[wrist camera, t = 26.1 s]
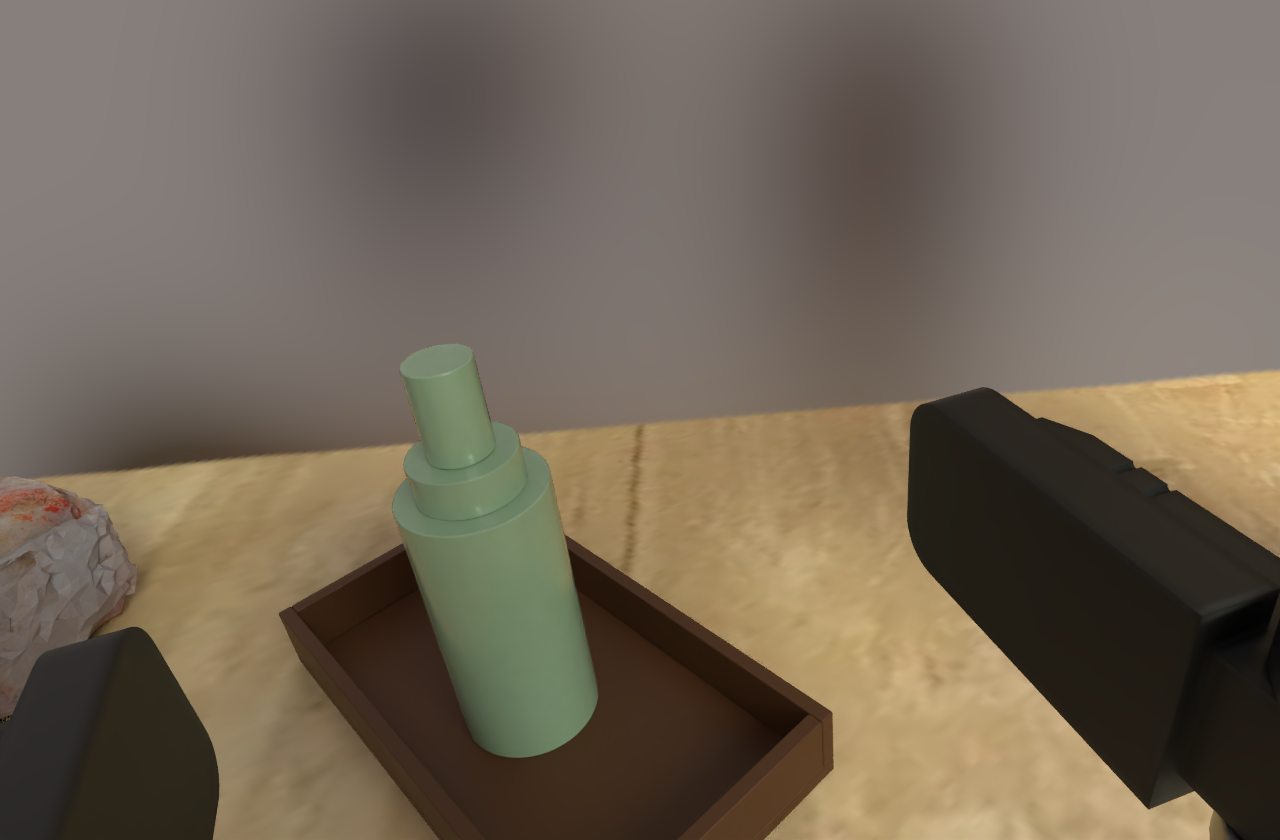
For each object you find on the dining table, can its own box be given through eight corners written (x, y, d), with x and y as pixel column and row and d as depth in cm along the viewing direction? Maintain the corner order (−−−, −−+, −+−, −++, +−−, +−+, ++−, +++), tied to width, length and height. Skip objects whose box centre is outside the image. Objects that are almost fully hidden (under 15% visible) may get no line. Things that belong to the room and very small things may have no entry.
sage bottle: (545, 631, 39) (463, 309, 31) (625, 696, 35) (556, 348, 27) (439, 705, 36) (319, 370, 28) (515, 785, 32) (400, 423, 24)
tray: (509, 535, 47) (497, 489, 45) (834, 768, 32) (833, 711, 30) (300, 661, 40) (278, 613, 39) (584, 1024, 26) (566, 970, 24)
